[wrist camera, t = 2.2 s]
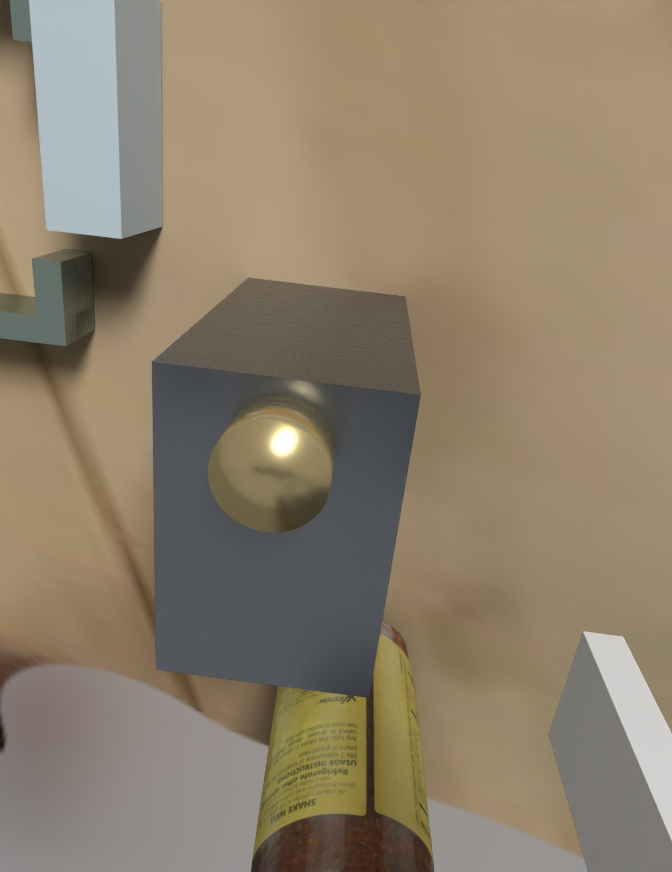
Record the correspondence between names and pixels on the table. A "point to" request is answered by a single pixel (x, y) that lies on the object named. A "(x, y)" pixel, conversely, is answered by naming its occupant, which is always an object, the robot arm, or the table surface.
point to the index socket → (49, 271)
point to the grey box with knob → (281, 484)
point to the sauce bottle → (347, 777)
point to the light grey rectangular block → (99, 114)
